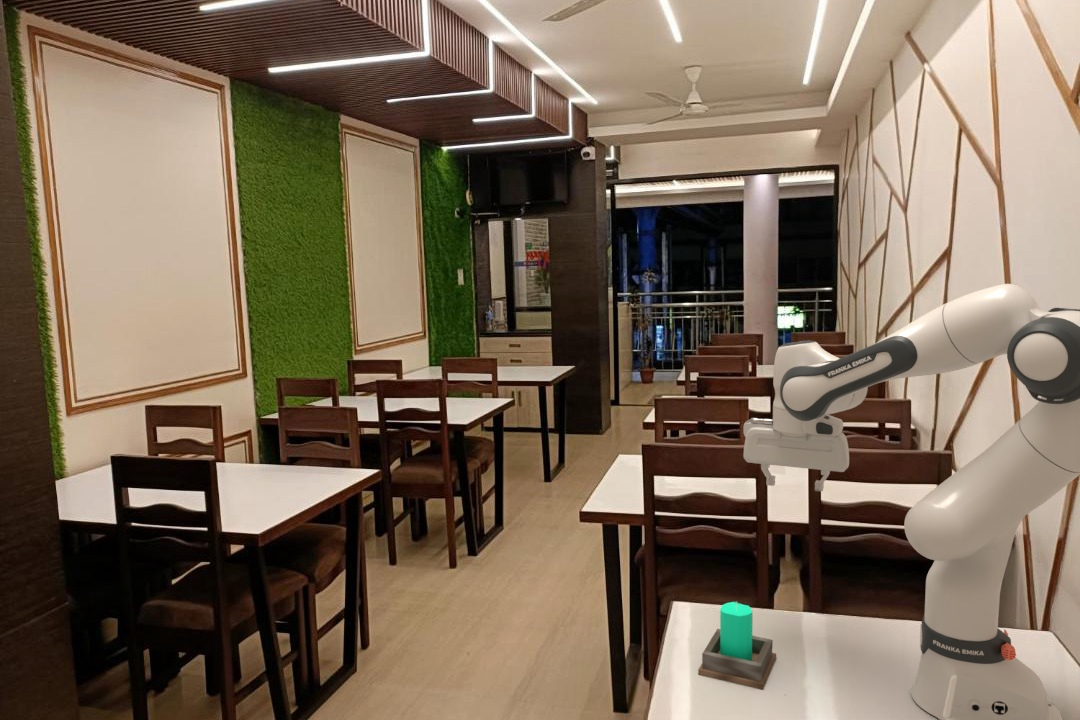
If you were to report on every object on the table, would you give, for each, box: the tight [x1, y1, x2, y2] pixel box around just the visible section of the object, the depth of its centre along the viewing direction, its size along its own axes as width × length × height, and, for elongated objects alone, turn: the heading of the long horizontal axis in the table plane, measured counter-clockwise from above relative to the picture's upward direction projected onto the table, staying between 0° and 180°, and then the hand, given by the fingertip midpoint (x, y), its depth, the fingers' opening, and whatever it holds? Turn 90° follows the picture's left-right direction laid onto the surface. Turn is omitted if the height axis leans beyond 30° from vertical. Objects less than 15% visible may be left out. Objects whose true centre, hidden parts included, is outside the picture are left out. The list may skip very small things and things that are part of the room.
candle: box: [719, 601, 753, 661], centre depth 147 cm, size 6×6×12 cm
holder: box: [697, 628, 777, 690], centre depth 147 cm, size 12×12×4 cm
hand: (794, 487), depth 156 cm, fingers open, 8 cm apart
